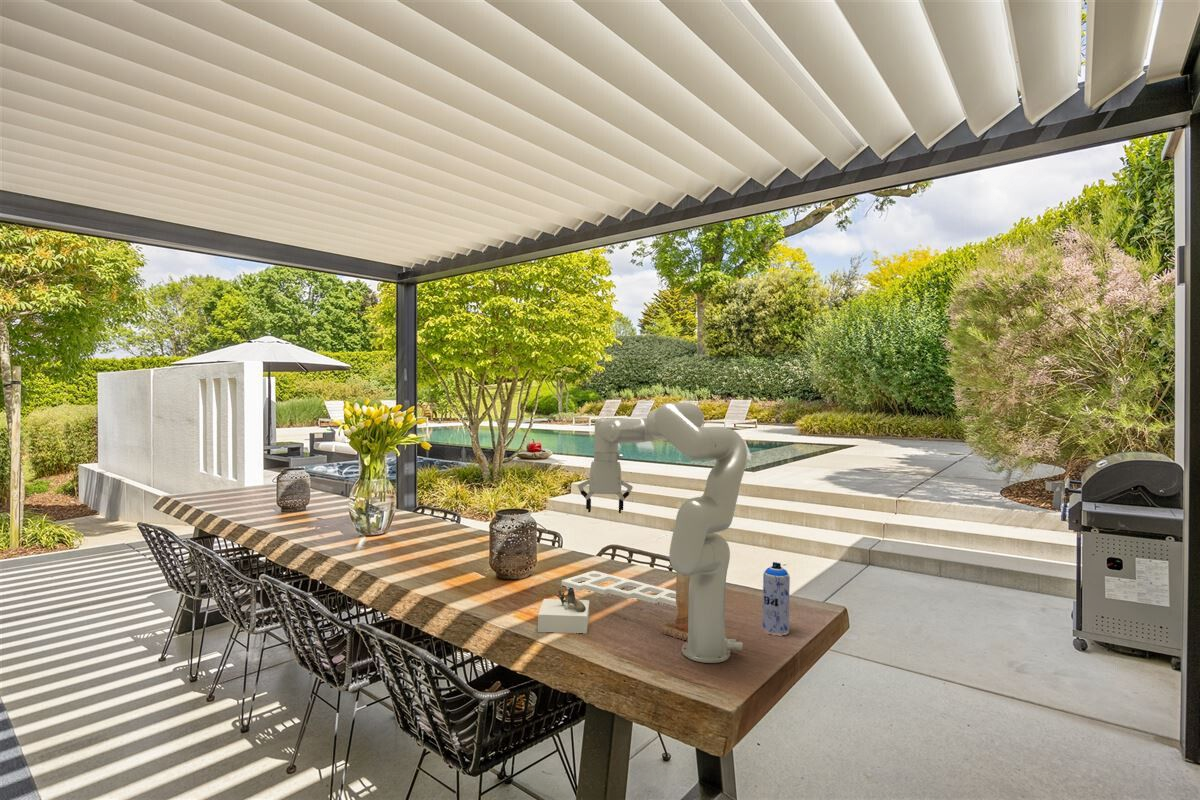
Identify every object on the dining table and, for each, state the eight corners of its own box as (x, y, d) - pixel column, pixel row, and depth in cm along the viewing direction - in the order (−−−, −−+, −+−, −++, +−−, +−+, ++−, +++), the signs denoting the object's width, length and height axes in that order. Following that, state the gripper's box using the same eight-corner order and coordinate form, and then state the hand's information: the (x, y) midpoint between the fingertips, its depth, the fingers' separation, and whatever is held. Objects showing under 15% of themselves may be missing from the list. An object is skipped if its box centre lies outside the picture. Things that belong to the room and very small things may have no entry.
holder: (697, 604, 200) (697, 596, 200) (667, 619, 187) (667, 610, 187) (593, 577, 229) (593, 570, 229) (560, 588, 215) (561, 580, 215)
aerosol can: (756, 630, 177) (758, 562, 177) (769, 624, 182) (770, 557, 183) (781, 638, 171) (783, 567, 172) (793, 631, 177) (795, 563, 177)
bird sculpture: (680, 624, 182) (679, 517, 182) (715, 633, 174) (714, 522, 175) (660, 635, 173) (659, 523, 174) (695, 645, 166) (694, 527, 166)
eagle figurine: (548, 605, 176) (571, 606, 171) (555, 581, 180) (578, 581, 175) (565, 614, 181) (587, 615, 175) (571, 591, 185) (593, 591, 179)
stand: (588, 616, 185) (589, 600, 185) (586, 633, 171) (587, 616, 171) (543, 615, 186) (543, 598, 186) (537, 632, 172) (538, 614, 172)
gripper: (632, 457, 194) (631, 510, 194) (579, 456, 195) (578, 509, 195) (633, 459, 187) (632, 515, 187) (577, 458, 187) (576, 513, 187)
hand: (604, 512), depth 191 cm, fingers open, 9 cm apart
